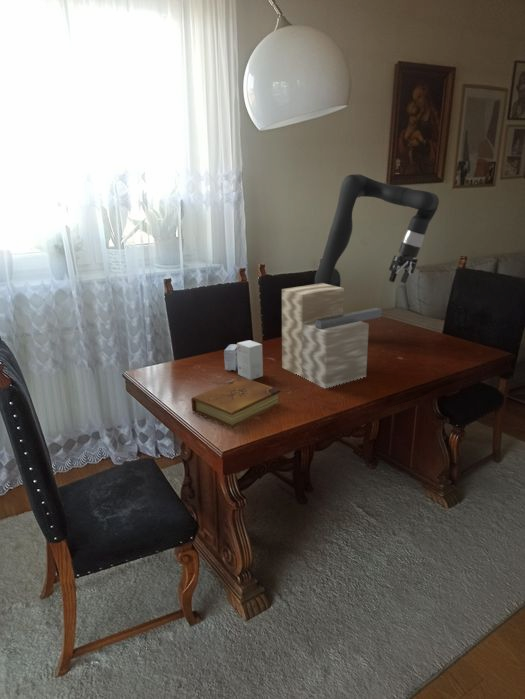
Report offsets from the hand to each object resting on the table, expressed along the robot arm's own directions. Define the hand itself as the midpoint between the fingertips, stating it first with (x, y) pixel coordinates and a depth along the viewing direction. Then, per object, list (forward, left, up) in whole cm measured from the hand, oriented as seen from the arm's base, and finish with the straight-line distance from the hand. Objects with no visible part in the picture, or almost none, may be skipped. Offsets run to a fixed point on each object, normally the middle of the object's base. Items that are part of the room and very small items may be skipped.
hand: (397, 282), depth 205 cm
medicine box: (-27, -63, -32) cm, 76 cm away
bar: (+6, -31, -10) cm, 33 cm away
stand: (-1, -37, -31) cm, 49 cm away
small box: (-15, -62, -32) cm, 71 cm away
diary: (+7, -81, -32) cm, 88 cm away
